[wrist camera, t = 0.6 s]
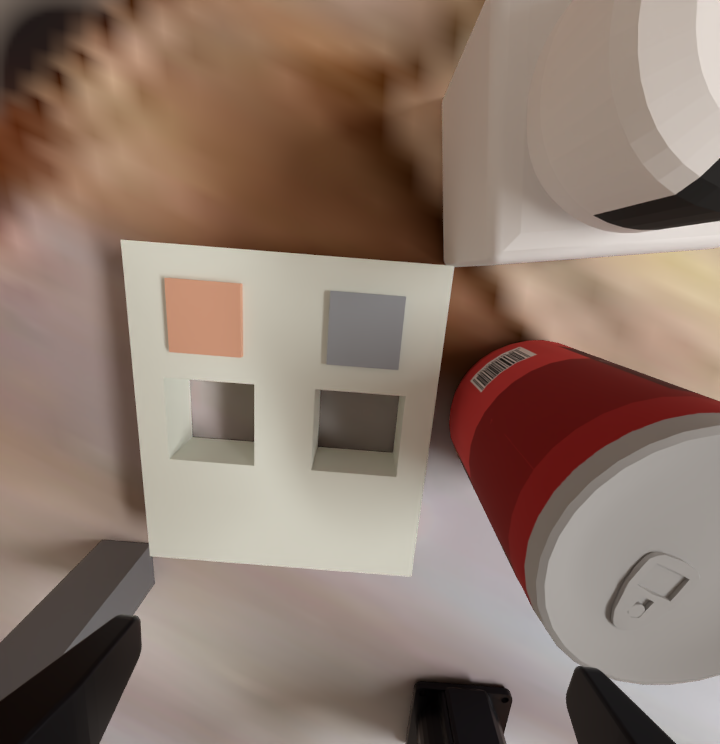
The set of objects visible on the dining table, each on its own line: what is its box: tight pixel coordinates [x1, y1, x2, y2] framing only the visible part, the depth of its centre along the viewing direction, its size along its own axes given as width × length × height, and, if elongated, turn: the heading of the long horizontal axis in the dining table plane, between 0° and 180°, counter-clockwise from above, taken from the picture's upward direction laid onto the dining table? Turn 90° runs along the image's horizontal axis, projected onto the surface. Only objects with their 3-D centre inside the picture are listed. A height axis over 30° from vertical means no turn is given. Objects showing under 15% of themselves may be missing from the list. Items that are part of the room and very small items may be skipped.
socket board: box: [121, 240, 454, 577], centre depth 18 cm, size 16×14×3 cm
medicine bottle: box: [442, 0, 720, 267], centre depth 11 cm, size 7×7×12 cm
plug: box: [0, 540, 155, 700], centre depth 18 cm, size 3×3×10 cm
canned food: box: [449, 340, 720, 685], centre depth 14 cm, size 8×8×11 cm
